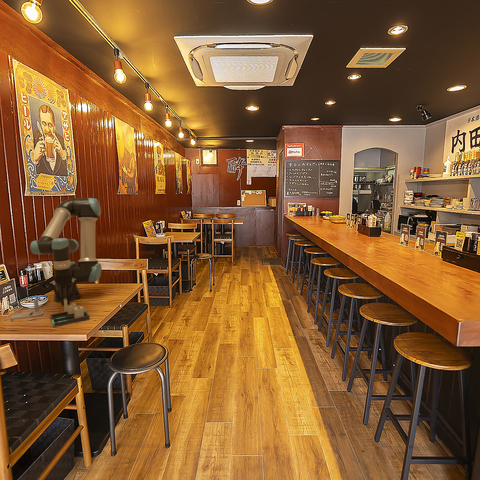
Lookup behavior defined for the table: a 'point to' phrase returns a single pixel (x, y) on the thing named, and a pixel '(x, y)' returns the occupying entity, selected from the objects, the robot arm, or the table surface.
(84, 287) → the table surface
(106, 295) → the table surface
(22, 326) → the table surface
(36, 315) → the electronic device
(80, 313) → the beige handled cube
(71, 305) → the beige rectangular block
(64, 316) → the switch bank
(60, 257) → the robot arm
